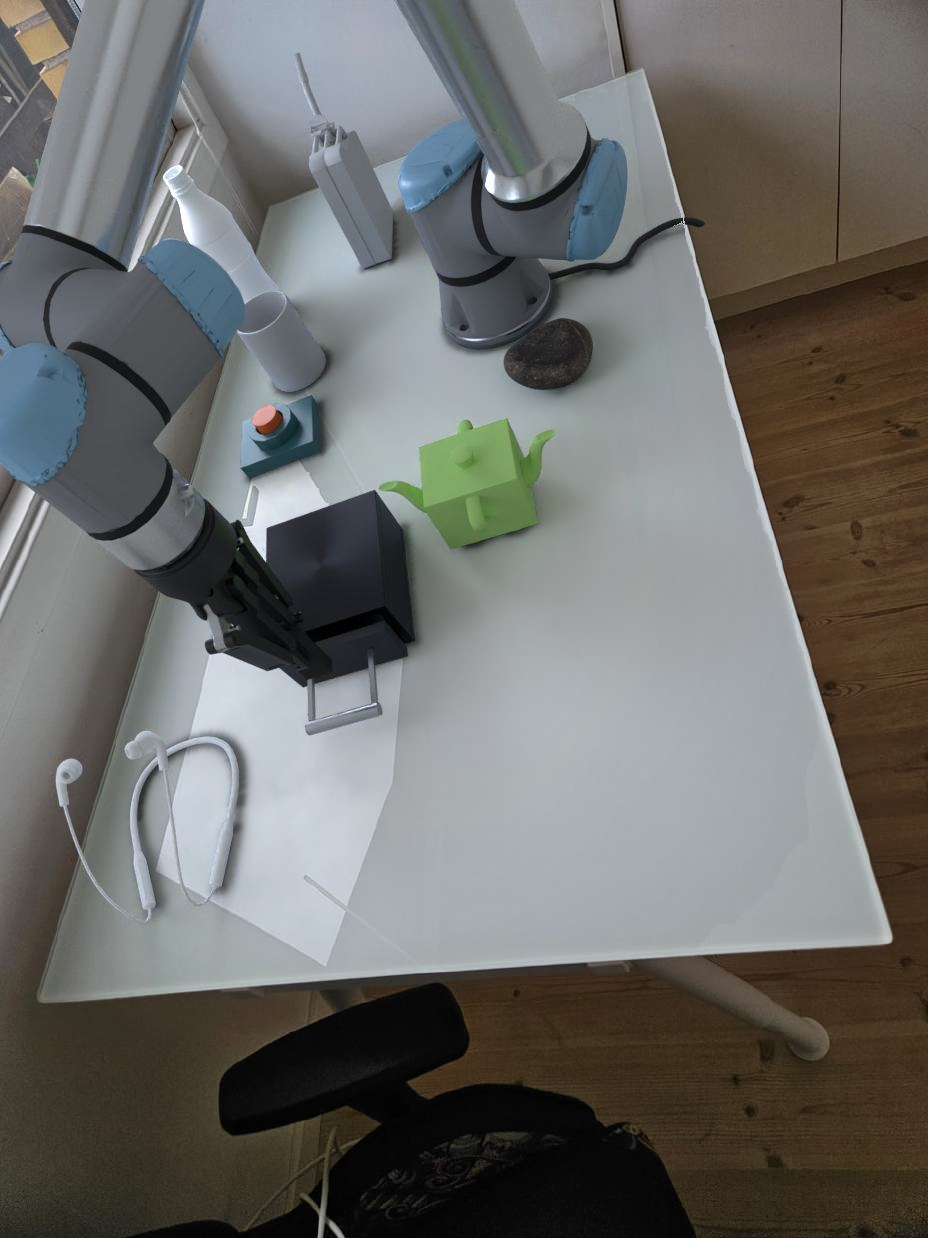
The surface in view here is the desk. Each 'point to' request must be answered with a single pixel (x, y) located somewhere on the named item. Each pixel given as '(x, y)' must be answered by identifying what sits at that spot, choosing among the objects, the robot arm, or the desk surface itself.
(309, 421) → the stop button base
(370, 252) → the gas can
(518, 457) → the teapot
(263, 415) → the stop button
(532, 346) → the stone
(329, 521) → the black box
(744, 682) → the desk surface
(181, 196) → the water bottle
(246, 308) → the mug
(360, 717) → the drawer
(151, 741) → the earphone
